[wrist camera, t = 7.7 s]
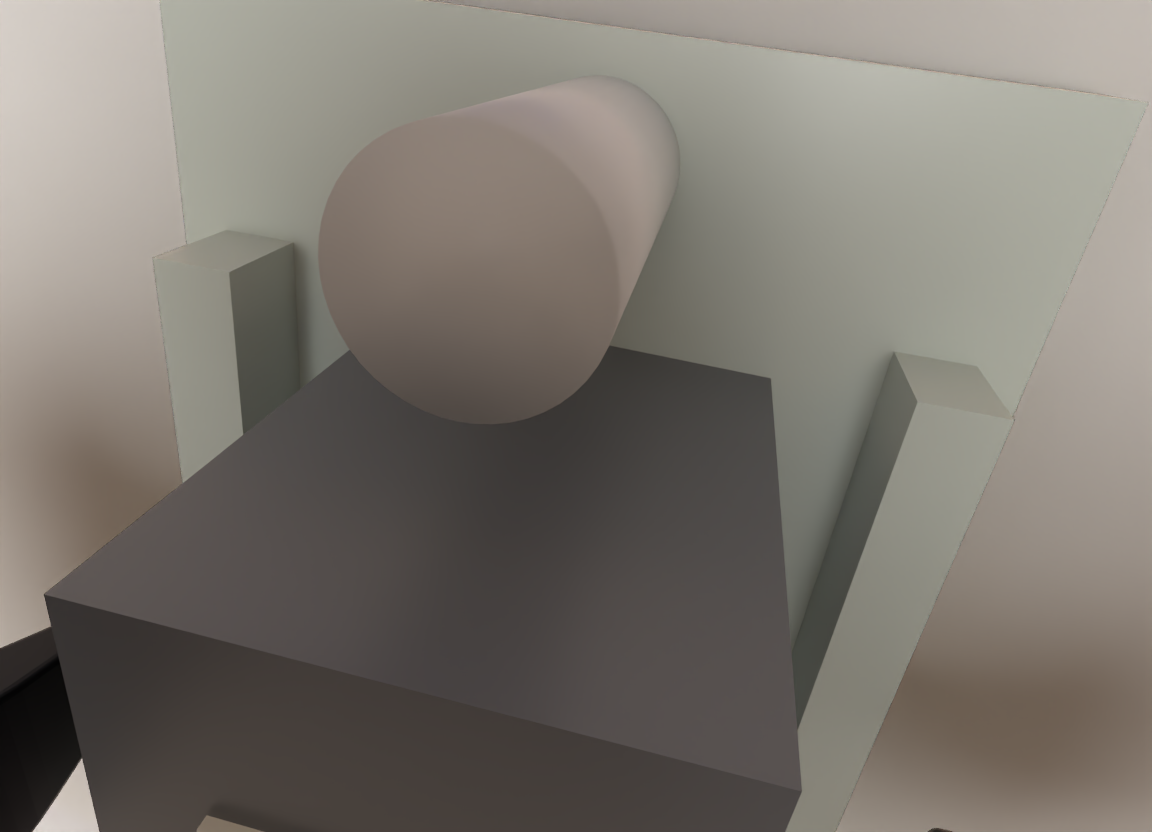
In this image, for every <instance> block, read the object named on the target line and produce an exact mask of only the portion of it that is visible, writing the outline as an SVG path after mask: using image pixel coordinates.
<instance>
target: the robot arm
mask: <svg viewBox="0 0 1152 832" xmlns="http://www.w3.org/2000/svg"><path fill="white" fill-rule="evenodd" d="M81 759H82V755H81V750H80V746H79V742H78V738H77V733H76V729H75V725H74V721H73V716H72V712H71V708H70V703H69V699H68V695H67V691H66V686H65V682H64V678H63V674H62V669H61V665H60V661H59V656H58V652H57V648H56V644H55V639H54V635H53V631H52V627H49V628H46V629H44V630H42V631H39V632H37V633H35V634H32V635H30V636H28V637H25V638H23V639H21V640H18V641H16V642H14V643H11V644H9V645H7V646H4V647H2V648H0V832H32V831H33V830H34V829H35V827H36V826H37V825H38V823H39V822H40V821H41V819H42V818H43V816H44V815H45V813H46V812H47V811H48V809H49V808H50V806H51V805H52V803H53V802H54V800H55V799H56V797H57V796H58V794H59V793H60V791H61V790H62V788H63V786H64V785H65V783H66V782H67V780H68V779H69V777H70V776H71V774H72V773H73V771H74V769H75V768H76V766H77V765H78V763H79V762H80V760H81ZM928 832H952V831H948V830H944V829H940V828H933V829H931V830H929V831H928Z"/></svg>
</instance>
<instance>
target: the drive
mask: <svg viewBox="0 0 1152 832" xmlns="http://www.w3.org/2000/svg"><path fill="white" fill-rule="evenodd" d="M44 597H45V601H46V605H47V610H48V614H49V618H50V622H51V627H52V631H53V635H54V639H55V644H56V648H57V652H58V656H59V661H60V665H61V669H62V674H63V678H64V682H65V686H66V691H67V695H68V699H69V703H70V708H71V712H72V716H73V721H74V725H75V729H76V733H77V738H78V742H79V746H80V750H81V755H82V759H83V763H84V767H85V772H86V776H87V780H88V785H89V789H90V793H91V797H92V802H93V806H94V810H95V814H96V819H97V823H98V827H99V832H785V831H786V829H787V826H788V824H789V822H790V819H791V817H792V814H793V812H794V810H795V807H796V805H797V802H798V800H799V798H800V795H801V793H802V785H801V772H800V759H799V746H798V732H797V719H796V706H795V692H794V679H793V666H792V652H791V639H790V626H789V612H788V599H787V586H786V573H785V559H784V546H783V533H782V519H781V506H780V493H779V479H778V466H777V453H776V440H775V426H774V413H773V400H772V386H771V378H767V377H762V376H757V375H752V374H747V373H742V372H737V371H732V370H728V369H723V368H718V367H713V366H708V365H703V364H698V363H693V362H688V361H683V360H678V359H673V358H669V357H664V356H659V355H654V354H649V353H644V352H639V351H634V350H629V349H624V348H619V347H614V346H610V345H609V347H608V349H607V351H606V353H605V354H604V356H603V358H602V360H601V362H600V363H599V365H598V367H597V368H596V369H595V371H594V372H593V373H592V375H591V376H590V377H589V379H588V380H587V381H586V382H585V383H584V384H583V385H582V386H581V387H580V388H579V389H578V390H577V391H576V392H575V393H574V394H572V395H571V396H570V397H568V398H567V399H566V400H564V401H563V402H562V403H560V404H559V405H557V406H555V407H553V408H551V409H549V410H548V411H546V412H544V413H541V414H538V415H536V416H533V417H531V418H528V419H524V420H519V421H515V422H511V423H501V424H472V423H465V422H458V421H454V420H450V419H446V418H442V417H439V416H436V415H434V414H431V413H428V412H426V411H423V410H421V409H419V408H417V407H415V406H413V405H411V404H410V403H408V402H406V401H404V400H403V399H401V398H400V397H398V396H397V395H395V394H394V393H392V392H391V391H389V390H388V389H387V388H386V387H384V386H383V385H382V384H381V383H380V382H378V381H377V380H376V379H375V378H374V377H373V376H372V375H371V374H370V373H369V372H368V371H367V370H366V369H365V368H364V367H363V366H362V365H361V364H360V362H359V361H358V360H357V358H356V357H355V356H354V354H353V353H352V352H351V351H350V350H349V351H347V352H346V353H345V354H344V355H342V356H341V357H340V358H339V359H337V360H336V361H335V362H334V363H332V364H331V365H330V366H329V367H327V368H326V369H325V370H324V371H322V372H321V373H320V374H319V375H317V376H316V377H315V378H314V379H312V380H311V381H310V382H309V383H307V384H306V385H305V386H304V387H302V388H301V389H300V390H299V391H297V392H296V393H295V394H294V395H292V396H291V397H290V398H289V399H287V400H286V401H285V402H284V403H282V404H281V405H280V406H279V407H277V408H276V409H275V410H274V411H272V412H271V413H270V414H269V415H267V416H266V417H265V418H264V419H262V420H261V421H260V422H259V423H257V424H256V425H255V426H254V427H252V428H251V429H250V430H249V431H247V432H246V433H245V434H244V435H242V436H241V437H240V438H239V439H237V440H236V441H235V442H234V443H232V444H231V445H230V446H229V447H227V448H226V449H225V450H224V451H222V452H221V453H220V454H219V455H217V456H216V457H215V458H214V459H212V460H211V461H210V462H209V463H207V464H206V465H205V466H204V467H202V468H201V469H200V470H199V471H197V472H196V473H195V474H194V475H192V476H191V477H190V478H189V479H187V480H186V481H185V482H184V483H182V484H181V485H180V486H179V487H177V488H176V489H175V490H174V491H172V492H171V493H170V494H169V495H167V496H166V497H165V498H164V499H162V500H161V501H160V502H159V503H157V504H156V505H155V506H154V507H152V508H151V509H150V510H149V511H147V512H146V513H145V514H144V515H142V516H141V517H140V518H139V519H137V520H136V521H135V522H134V523H132V524H131V525H130V526H129V527H127V528H126V529H125V530H124V531H122V532H121V533H120V534H119V535H117V536H116V537H115V538H114V539H112V540H111V541H110V542H109V543H107V544H106V545H105V546H104V547H102V548H101V549H100V550H99V551H97V552H96V553H95V554H94V555H92V556H91V557H90V558H89V559H87V560H86V561H85V562H84V563H82V564H81V565H80V566H79V567H77V568H76V569H75V570H74V571H72V572H71V573H70V574H69V575H67V576H66V577H65V578H64V579H62V580H61V581H60V582H59V583H57V584H56V585H55V586H54V587H52V588H51V589H50V590H49V591H47V592H46V593H45V594H44Z"/></svg>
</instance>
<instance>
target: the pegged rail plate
mask: <svg viewBox="0 0 1152 832" xmlns="http://www.w3.org/2000/svg"><path fill="white" fill-rule="evenodd" d="M159 1H160V10H161V19H162V28H163V37H164V46H165V55H166V64H167V73H168V82H169V91H170V100H171V109H172V118H173V127H174V136H175V145H176V154H177V163H178V172H179V181H180V190H181V199H182V208H183V217H184V226H185V235H186V243H187V245H185V246H182V247H179V248H177V249H174V250H171V251H169V252H166V253H163V254H161V255H158V256H155V257H153V266H154V273H155V281H156V288H157V296H158V303H159V311H160V318H161V326H162V333H163V341H164V348H165V356H166V363H167V371H168V378H169V386H170V393H171V401H172V408H173V416H174V423H175V431H176V438H177V446H178V453H179V461H180V468H181V476H182V483H184V482H185V481H186V480H187V479H189V478H190V477H191V476H192V475H194V474H195V473H196V472H197V471H199V470H200V469H201V468H202V467H204V466H205V465H206V464H207V463H209V462H210V461H211V460H212V459H214V458H215V457H216V456H217V455H219V454H220V453H221V452H222V451H224V450H225V449H226V448H227V447H229V446H230V445H231V444H232V443H234V442H235V441H236V440H237V439H239V438H240V437H241V436H242V435H244V434H245V433H246V432H247V431H249V430H250V429H251V428H252V427H254V426H255V425H256V424H257V423H259V422H260V421H261V420H262V419H264V418H265V417H266V416H267V415H269V414H270V413H271V412H272V411H274V410H275V409H276V408H277V407H279V406H280V405H281V404H282V403H284V402H285V401H286V400H287V399H289V398H290V397H291V396H292V395H294V394H295V393H296V392H297V391H299V390H300V389H301V388H302V387H304V386H305V385H306V384H307V383H309V382H310V381H311V380H312V379H314V378H315V377H316V376H317V375H319V374H320V373H321V372H322V371H324V370H325V369H326V368H327V367H329V366H330V365H331V364H332V363H334V362H335V361H336V360H337V359H339V358H340V357H341V356H342V355H344V354H345V353H346V352H347V351H349V350H350V351H351V352H352V353H353V354H354V356H355V357H356V358H357V360H358V361H359V362H360V364H361V365H362V366H363V367H364V368H365V369H366V370H367V371H368V372H369V373H370V374H371V375H372V376H373V377H374V378H375V379H376V380H377V381H378V382H380V383H381V384H382V385H383V386H384V387H386V388H387V389H388V390H389V391H391V392H392V393H394V394H395V395H397V396H398V397H400V398H401V399H403V400H404V401H406V402H408V403H410V404H411V405H413V406H415V407H417V408H419V409H421V410H423V411H426V412H428V413H431V414H434V415H436V416H439V417H442V418H446V419H450V420H454V421H458V422H465V423H472V424H501V423H511V422H515V421H519V420H524V419H528V418H531V417H533V416H536V415H538V414H541V413H544V412H546V411H548V410H549V409H551V408H553V407H555V406H557V405H559V404H560V403H562V402H563V401H564V400H566V399H567V398H568V397H570V396H571V395H572V394H574V393H575V392H576V391H577V390H578V389H579V388H580V387H581V386H582V385H583V384H584V383H585V382H586V381H587V380H588V379H589V377H590V376H591V375H592V373H593V372H594V371H595V369H596V368H597V367H598V365H599V363H600V362H601V360H602V358H603V356H604V354H605V353H606V351H607V349H608V347H609V345H610V346H614V347H619V348H624V349H629V350H634V351H639V352H644V353H649V354H654V355H659V356H664V357H669V358H673V359H678V360H683V361H688V362H693V363H698V364H703V365H708V366H713V367H718V368H723V369H728V370H732V371H737V372H742V373H747V374H752V375H757V376H762V377H767V378H771V386H772V400H773V413H774V426H775V440H776V453H777V466H778V479H779V493H780V506H781V519H782V533H783V546H784V559H785V573H786V586H787V599H788V612H789V626H790V639H791V652H792V666H793V679H794V692H795V706H796V719H797V732H798V746H799V759H800V772H801V785H802V793H801V795H800V798H799V800H798V802H797V805H796V807H795V810H794V812H793V814H792V817H791V819H790V822H789V824H788V826H787V829H786V831H785V832H836V829H837V827H838V825H839V822H840V820H841V818H842V816H843V813H844V811H845V809H846V806H847V804H848V802H849V800H850V797H851V795H852V793H853V790H854V788H855V786H856V783H857V781H858V779H859V777H860V774H861V772H862V770H863V767H864V765H865V763H866V760H867V758H868V756H869V754H870V751H871V749H872V747H873V744H874V742H875V740H876V737H877V735H878V733H879V731H880V728H881V726H882V724H883V721H884V719H885V717H886V715H887V712H888V710H889V708H890V705H891V703H892V701H893V698H894V696H895V694H896V692H897V689H898V687H899V685H900V682H901V680H902V678H903V675H904V673H905V671H906V669H907V666H908V664H909V662H910V659H911V657H912V655H913V652H914V650H915V648H916V646H917V643H918V641H919V639H920V636H921V634H922V632H923V630H924V627H925V625H926V623H927V620H928V618H929V616H930V613H931V611H932V609H933V607H934V604H935V602H936V600H937V597H938V595H939V593H940V590H941V588H942V586H943V584H944V581H945V579H946V577H947V574H948V572H949V570H950V567H951V565H952V563H953V561H954V558H955V556H956V554H957V551H958V549H959V547H960V545H961V542H962V540H963V538H964V535H965V533H966V531H967V528H968V526H969V524H970V522H971V519H972V517H973V515H974V512H975V510H976V508H977V505H978V503H979V501H980V499H981V496H982V494H983V492H984V489H985V487H986V485H987V483H988V480H989V478H990V476H991V473H992V471H993V469H994V466H995V464H996V462H997V460H998V457H999V455H1000V453H1001V450H1002V448H1003V446H1004V443H1005V441H1006V439H1007V437H1008V434H1009V432H1010V430H1011V427H1012V425H1013V423H1014V418H1013V415H1014V413H1015V410H1016V408H1017V406H1018V403H1019V401H1020V399H1021V396H1022V394H1023V392H1024V390H1025V387H1026V385H1027V383H1028V380H1029V378H1030V376H1031V373H1032V371H1033V369H1034V366H1035V364H1036V362H1037V360H1038V357H1039V355H1040V353H1041V350H1042V348H1043V346H1044V343H1045V341H1046V339H1047V336H1048V334H1049V332H1050V330H1051V327H1052V325H1053V323H1054V320H1055V318H1056V316H1057V313H1058V311H1059V309H1060V306H1061V304H1062V302H1063V299H1064V297H1065V295H1066V293H1067V290H1068V288H1069V286H1070V283H1071V281H1072V279H1073V276H1074V274H1075V272H1076V269H1077V267H1078V265H1079V263H1080V260H1081V258H1082V256H1083V253H1084V251H1085V249H1086V246H1087V244H1088V242H1089V239H1090V237H1091V235H1092V233H1093V230H1094V228H1095V226H1096V223H1097V221H1098V219H1099V216H1100V214H1101V212H1102V209H1103V207H1104V205H1105V203H1106V200H1107V198H1108V196H1109V193H1110V191H1111V189H1112V186H1113V184H1114V182H1115V179H1116V177H1117V175H1118V172H1119V170H1120V168H1121V166H1122V163H1123V161H1124V159H1125V156H1126V154H1127V152H1128V149H1129V147H1130V145H1131V142H1132V140H1133V138H1134V136H1135V133H1136V131H1137V129H1138V126H1139V124H1140V122H1141V119H1142V117H1143V115H1144V112H1145V110H1146V108H1147V106H1148V102H1143V101H1137V100H1131V99H1125V98H1119V97H1113V96H1108V95H1102V94H1095V93H1088V92H1081V91H1074V90H1066V89H1059V88H1052V87H1045V86H1038V85H1031V84H1024V83H1016V82H1009V81H1002V80H995V79H988V78H981V77H974V76H966V75H959V74H952V73H945V72H938V71H931V70H924V69H916V68H909V67H902V66H895V65H888V64H881V63H874V62H866V61H859V60H852V59H845V58H838V57H831V56H823V55H816V54H809V53H802V52H795V51H788V50H781V49H773V48H766V47H759V46H752V45H745V44H738V43H731V42H723V41H716V40H709V39H702V38H695V37H688V36H681V35H673V34H666V33H659V32H652V31H645V30H638V29H631V28H623V27H616V26H609V25H602V24H595V23H588V22H581V21H573V20H566V19H559V18H552V17H545V16H538V15H531V14H523V13H516V12H509V11H502V10H495V9H488V8H481V7H473V6H466V5H459V4H452V3H445V2H438V1H431V0H159Z"/></svg>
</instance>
